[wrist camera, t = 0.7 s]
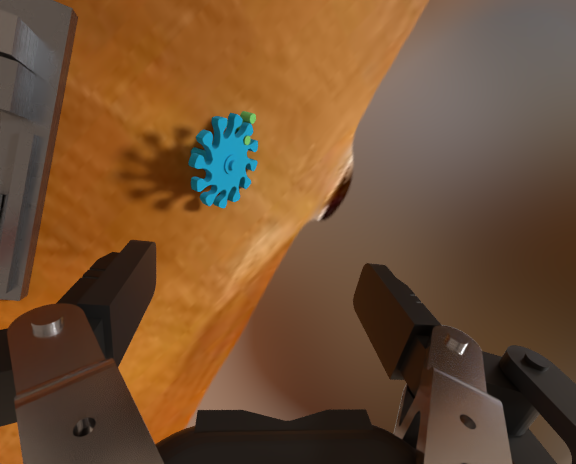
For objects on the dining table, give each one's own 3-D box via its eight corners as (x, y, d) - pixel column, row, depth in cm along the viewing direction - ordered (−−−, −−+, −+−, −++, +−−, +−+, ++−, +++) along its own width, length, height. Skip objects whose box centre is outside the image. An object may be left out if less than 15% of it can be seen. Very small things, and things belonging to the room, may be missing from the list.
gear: (233, 223, 34) (181, 183, 25) (197, 207, 36) (137, 165, 27) (275, 146, 36) (242, 83, 27) (238, 135, 38) (196, 74, 29)
